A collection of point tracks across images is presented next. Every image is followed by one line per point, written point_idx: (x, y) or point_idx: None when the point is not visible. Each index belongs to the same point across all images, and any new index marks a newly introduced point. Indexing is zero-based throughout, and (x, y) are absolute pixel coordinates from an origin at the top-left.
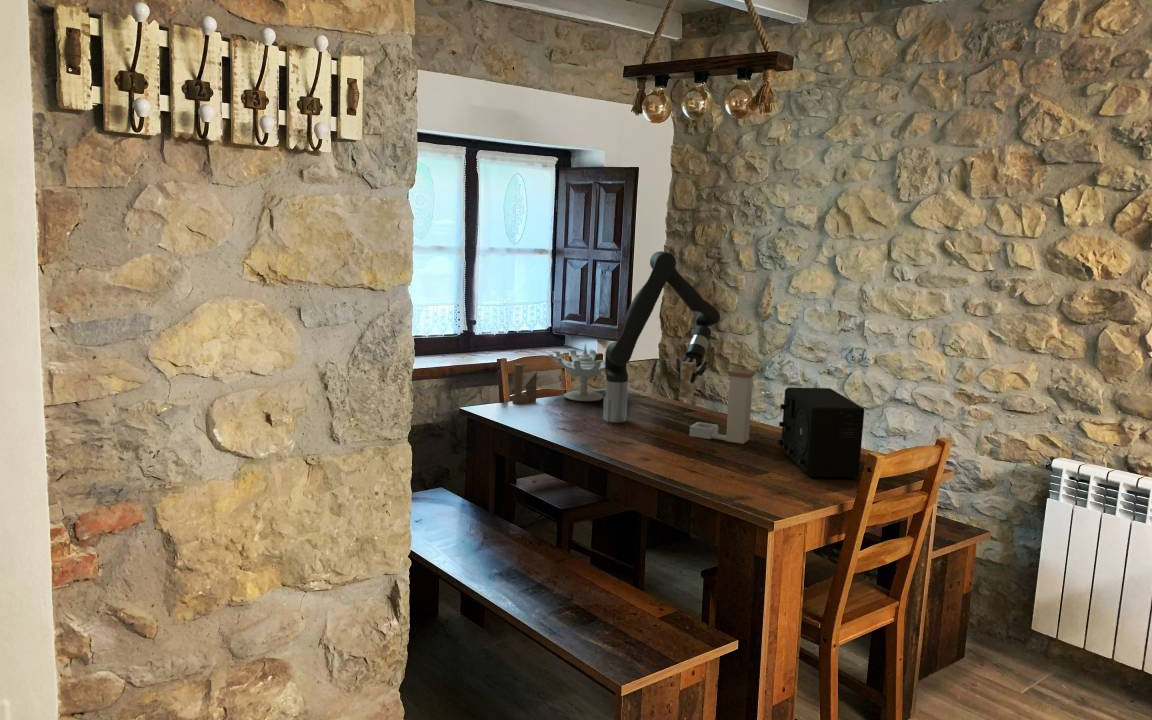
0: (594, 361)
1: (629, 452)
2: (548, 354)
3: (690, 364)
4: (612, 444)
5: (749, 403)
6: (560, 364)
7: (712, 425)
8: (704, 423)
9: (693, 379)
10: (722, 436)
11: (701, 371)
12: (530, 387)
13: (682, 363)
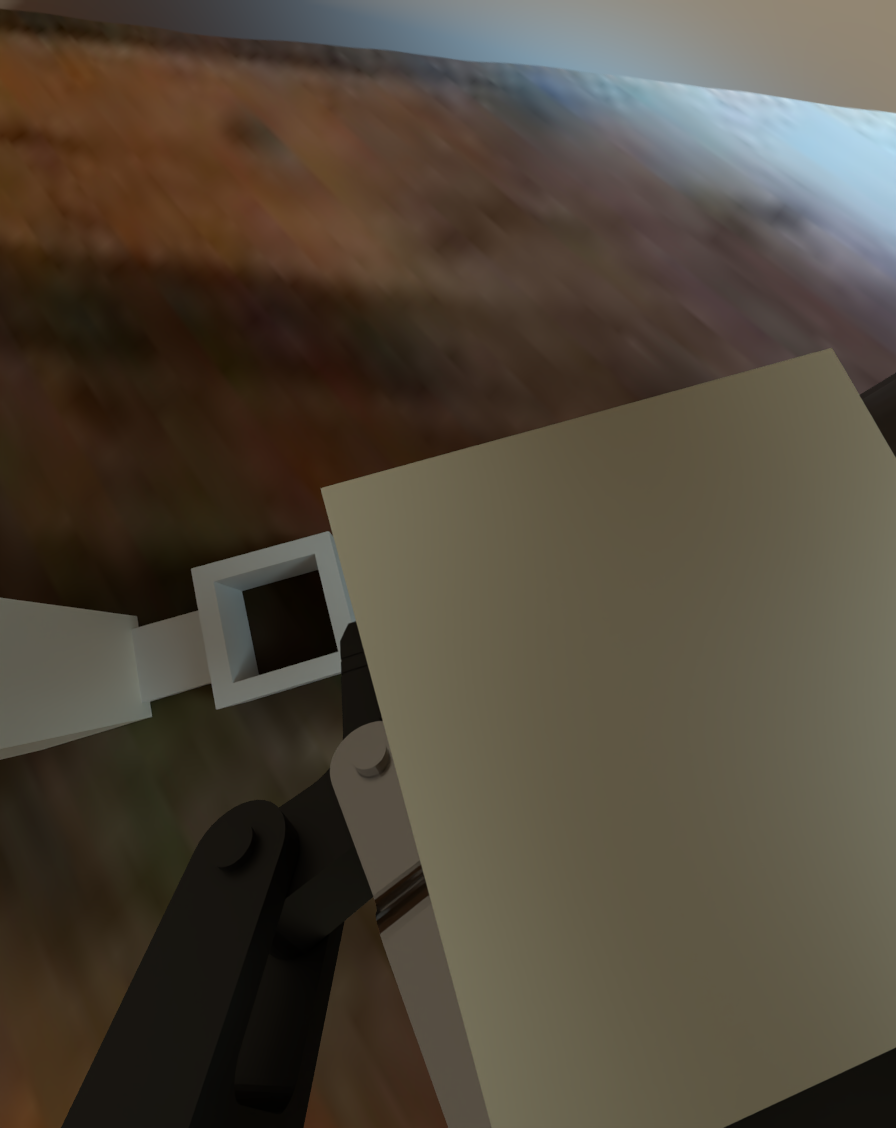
0: None
1: (349, 155)
2: None
3: (370, 479)
4: (475, 189)
5: None
6: None
7: (249, 678)
8: (307, 667)
9: (353, 634)
10: (174, 649)
11: (191, 899)
12: None
13: (762, 375)
